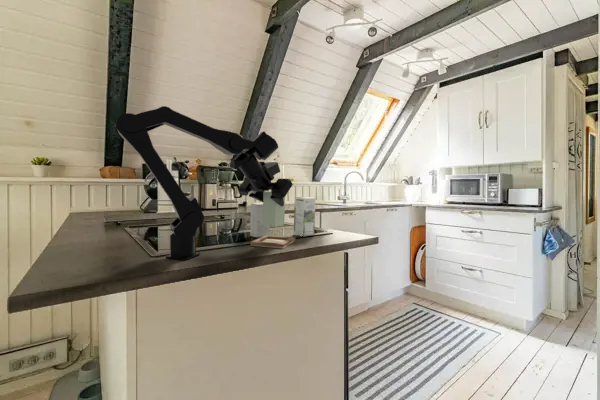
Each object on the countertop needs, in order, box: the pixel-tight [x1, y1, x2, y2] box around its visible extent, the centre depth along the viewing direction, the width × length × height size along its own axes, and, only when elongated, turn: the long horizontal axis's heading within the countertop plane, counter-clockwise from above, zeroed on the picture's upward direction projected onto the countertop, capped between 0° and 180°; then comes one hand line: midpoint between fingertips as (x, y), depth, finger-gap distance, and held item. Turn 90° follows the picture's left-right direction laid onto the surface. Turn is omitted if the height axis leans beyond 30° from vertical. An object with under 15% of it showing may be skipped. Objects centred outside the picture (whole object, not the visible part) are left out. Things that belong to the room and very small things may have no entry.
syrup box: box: [293, 196, 316, 238], centre depth 112 cm, size 6×6×14 cm
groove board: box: [250, 235, 296, 249], centre depth 98 cm, size 12×11×1 cm
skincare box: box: [250, 202, 271, 238], centre depth 110 cm, size 6×4×12 cm
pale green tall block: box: [262, 190, 286, 228], centre depth 97 cm, size 5×5×11 cm
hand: (276, 204), depth 98 cm, fingers closed on pale green tall block, 5 cm apart
